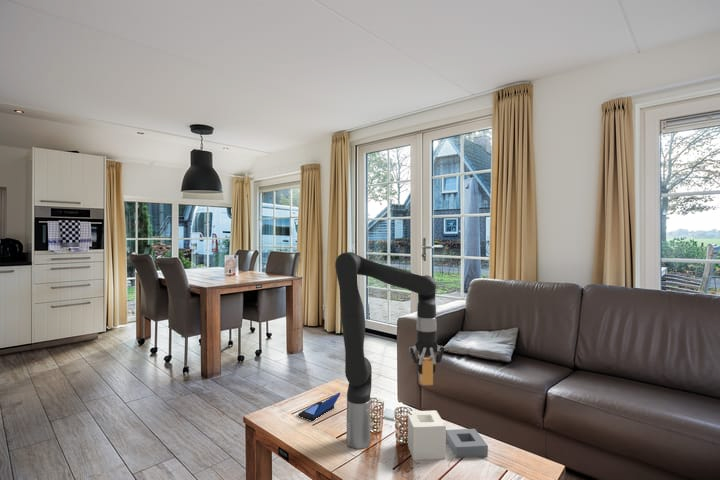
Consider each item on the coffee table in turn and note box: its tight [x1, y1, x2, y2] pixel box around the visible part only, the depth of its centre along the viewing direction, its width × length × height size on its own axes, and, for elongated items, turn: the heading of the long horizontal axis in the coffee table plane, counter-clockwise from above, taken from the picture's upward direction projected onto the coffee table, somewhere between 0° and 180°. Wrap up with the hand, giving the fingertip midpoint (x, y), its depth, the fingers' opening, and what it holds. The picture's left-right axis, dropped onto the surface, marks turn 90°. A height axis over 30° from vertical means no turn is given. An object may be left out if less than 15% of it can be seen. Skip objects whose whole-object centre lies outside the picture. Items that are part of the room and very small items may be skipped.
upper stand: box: [406, 409, 447, 461], centre depth 139 cm, size 12×12×12 cm
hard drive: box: [383, 407, 395, 422], centre depth 167 cm, size 2×8×12 cm
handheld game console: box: [298, 392, 341, 422], centre depth 167 cm, size 16×13×9 cm
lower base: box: [446, 428, 489, 459], centre depth 140 cm, size 12×12×4 cm
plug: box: [419, 357, 434, 386], centre depth 138 cm, size 4×4×9 cm
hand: (426, 373), depth 138 cm, fingers closed on plug, 4 cm apart
